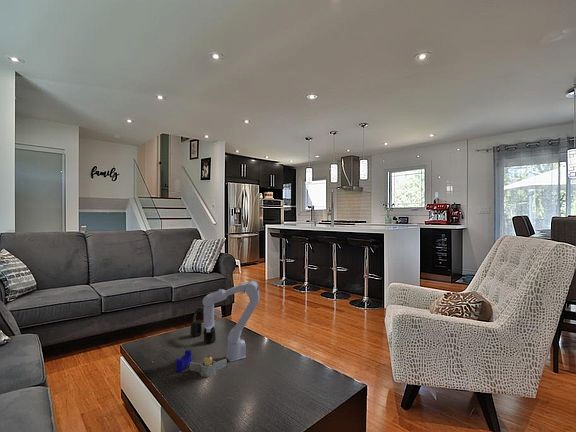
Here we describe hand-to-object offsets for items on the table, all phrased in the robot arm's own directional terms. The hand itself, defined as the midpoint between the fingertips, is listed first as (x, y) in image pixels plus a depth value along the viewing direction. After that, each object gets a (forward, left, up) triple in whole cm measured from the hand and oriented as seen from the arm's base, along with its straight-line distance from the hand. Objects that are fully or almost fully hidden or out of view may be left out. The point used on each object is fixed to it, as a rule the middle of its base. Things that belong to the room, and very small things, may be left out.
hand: (208, 340), depth 173 cm
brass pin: (+6, +17, -9) cm, 20 cm away
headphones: (-5, -28, -10) cm, 30 cm away
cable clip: (+15, +2, -10) cm, 18 cm away
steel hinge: (+4, +15, -9) cm, 18 cm away
